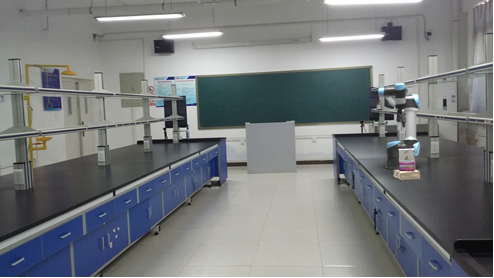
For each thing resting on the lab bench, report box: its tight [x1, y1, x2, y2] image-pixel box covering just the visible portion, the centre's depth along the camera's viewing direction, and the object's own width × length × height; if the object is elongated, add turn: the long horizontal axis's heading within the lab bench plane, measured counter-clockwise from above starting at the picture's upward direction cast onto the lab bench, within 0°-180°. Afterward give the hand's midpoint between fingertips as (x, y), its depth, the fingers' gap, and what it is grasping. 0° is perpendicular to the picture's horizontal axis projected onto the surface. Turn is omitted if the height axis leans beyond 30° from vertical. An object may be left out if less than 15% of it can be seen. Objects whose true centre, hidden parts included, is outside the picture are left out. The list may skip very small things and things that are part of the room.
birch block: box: [393, 169, 421, 181], centre depth 314 cm, size 14×14×6 cm
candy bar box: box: [398, 149, 416, 171], centre depth 313 cm, size 11×5×16 cm, turn 65°
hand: (401, 131), depth 325 cm, fingers open, 13 cm apart
